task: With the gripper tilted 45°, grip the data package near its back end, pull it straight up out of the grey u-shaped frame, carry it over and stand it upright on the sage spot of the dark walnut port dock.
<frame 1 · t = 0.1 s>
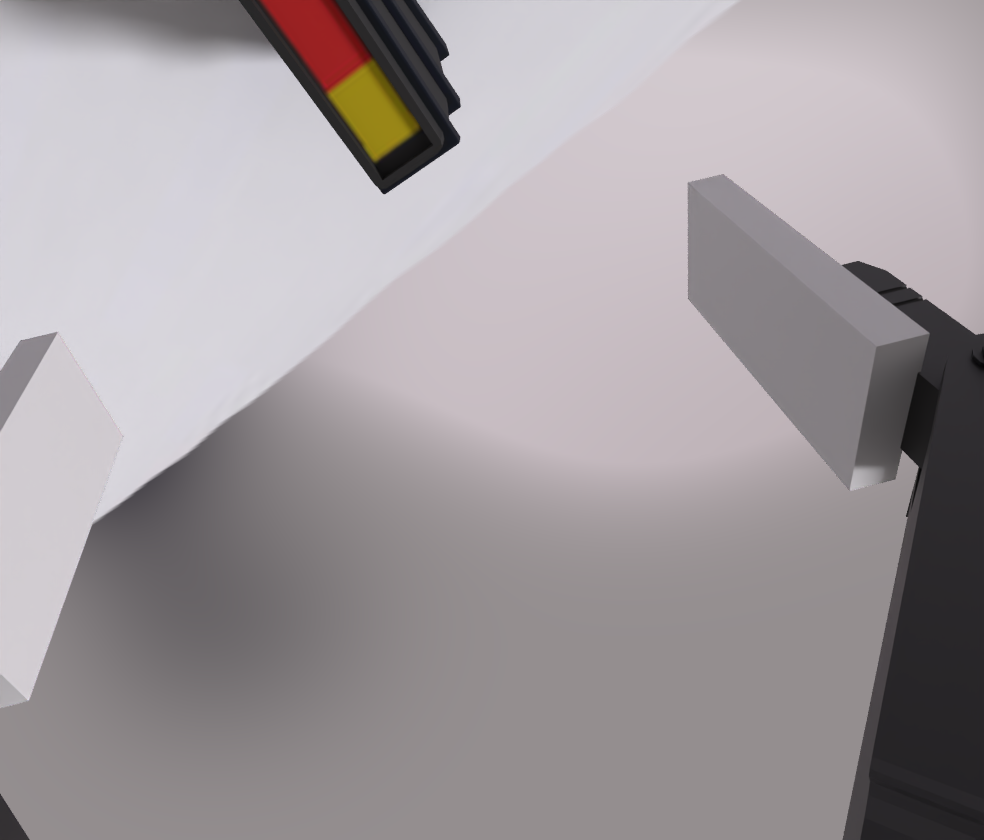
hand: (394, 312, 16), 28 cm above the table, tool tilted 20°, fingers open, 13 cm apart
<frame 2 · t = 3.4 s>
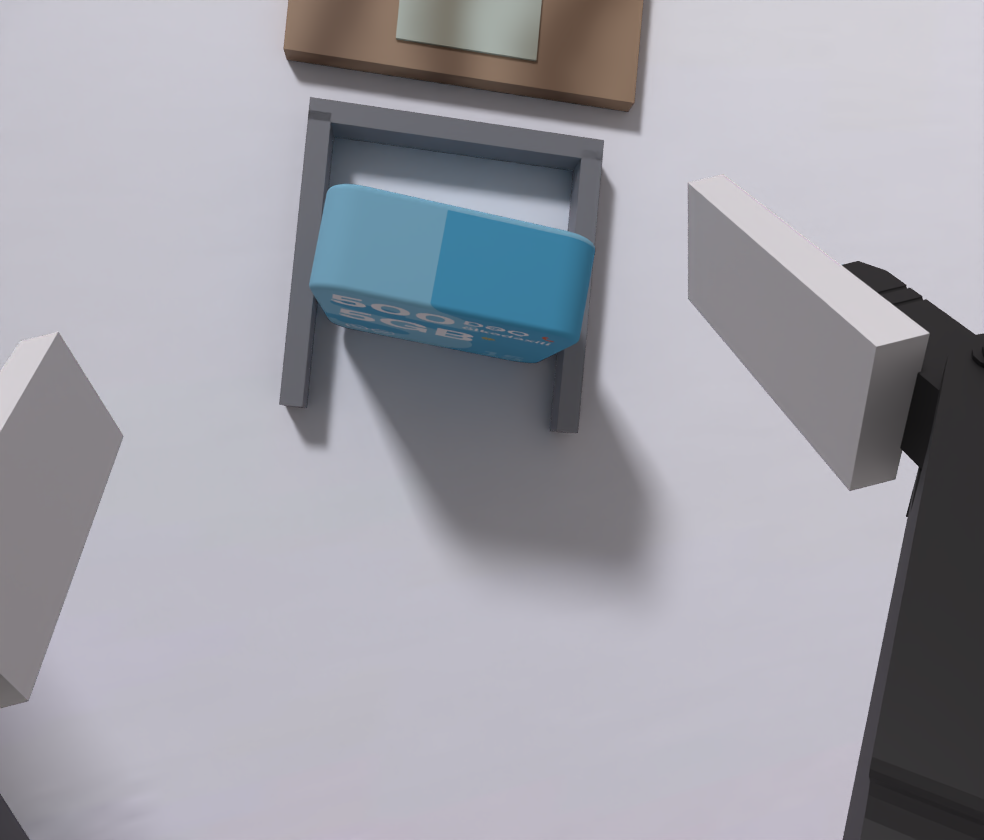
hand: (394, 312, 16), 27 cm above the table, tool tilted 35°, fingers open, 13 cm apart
data package: (441, 308, 43), on the table
grey u-shaped frame: (441, 307, 43), on the table
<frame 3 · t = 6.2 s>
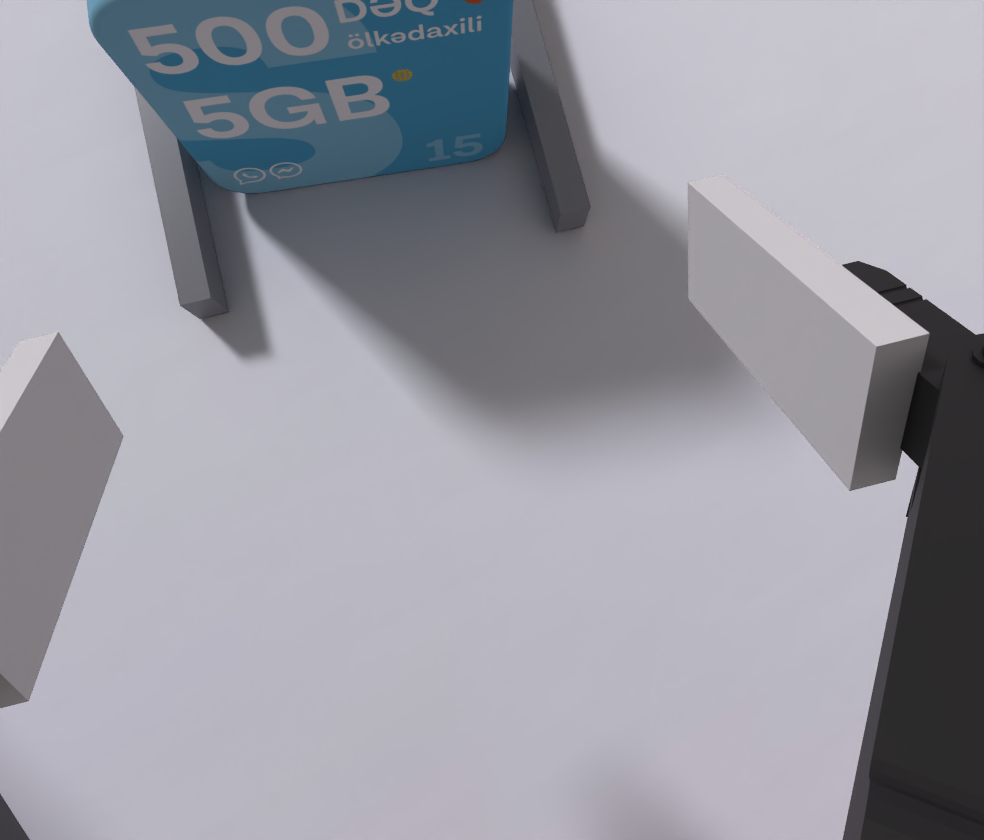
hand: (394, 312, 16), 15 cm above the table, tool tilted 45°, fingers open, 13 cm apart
data package: (359, 132, 32), on the table
grey u-shaped frame: (358, 129, 31), on the table
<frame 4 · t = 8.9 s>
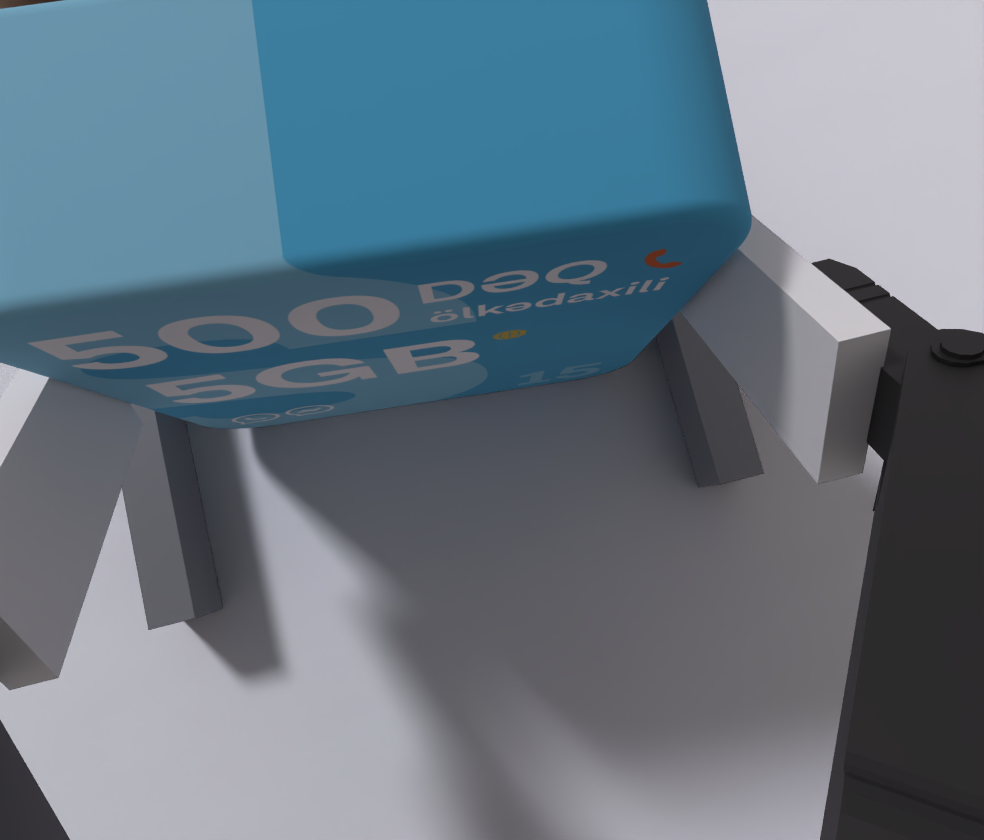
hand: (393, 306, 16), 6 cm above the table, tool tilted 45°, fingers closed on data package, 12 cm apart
data package: (414, 331, 22), on the table, touching gripper
grey u-shaped frame: (411, 331, 22), on the table
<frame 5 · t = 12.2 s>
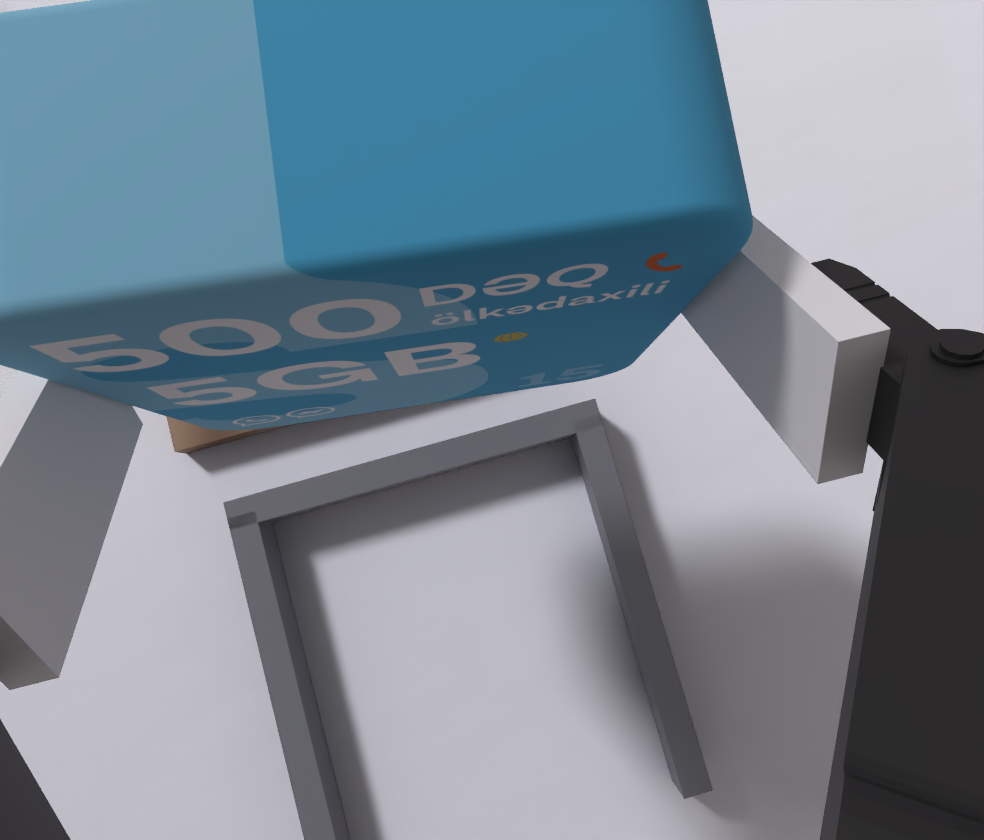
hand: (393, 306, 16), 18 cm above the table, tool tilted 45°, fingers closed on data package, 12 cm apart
data package: (415, 333, 22), point 12 cm above the table, touching gripper
grey u-shaped frame: (476, 676, 32), on the table
port dock: (350, 212, 35), on the table
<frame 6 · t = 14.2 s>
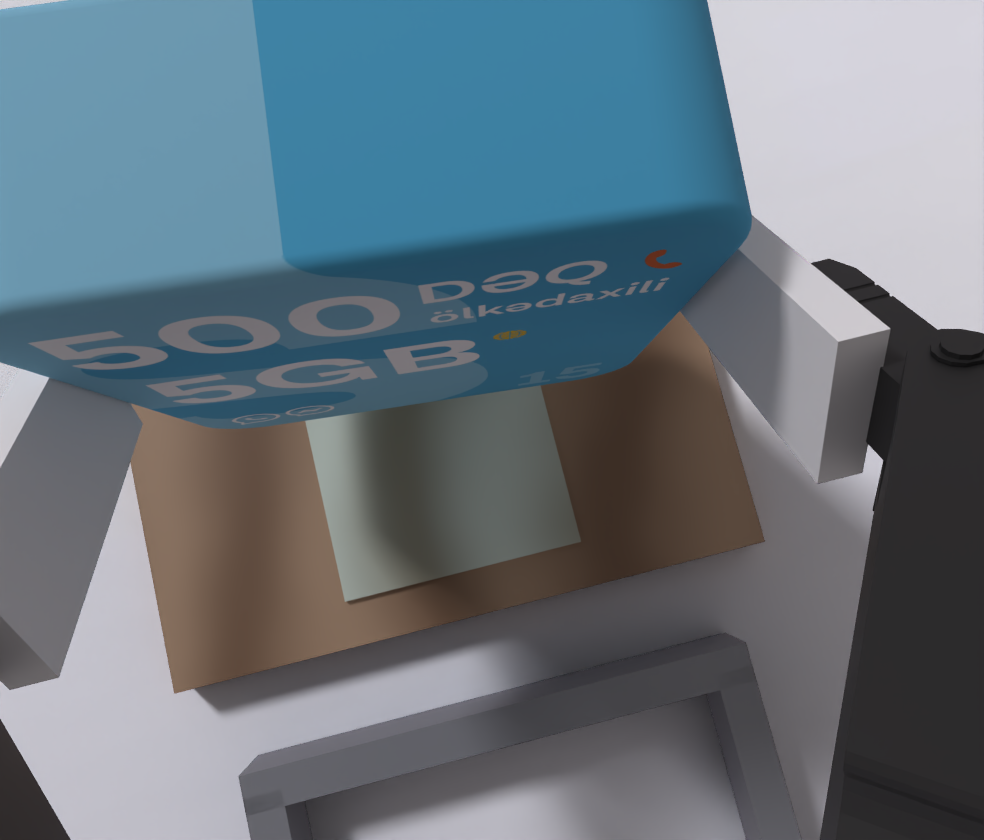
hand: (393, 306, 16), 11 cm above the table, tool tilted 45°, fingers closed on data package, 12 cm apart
data package: (414, 331, 22), point 4 cm above the table, touching gripper
port dock: (415, 362, 26), on the table
when the fingers open (8 cm above the table, at t = 15.4 s): data package moves 1 cm, resting on port dock.
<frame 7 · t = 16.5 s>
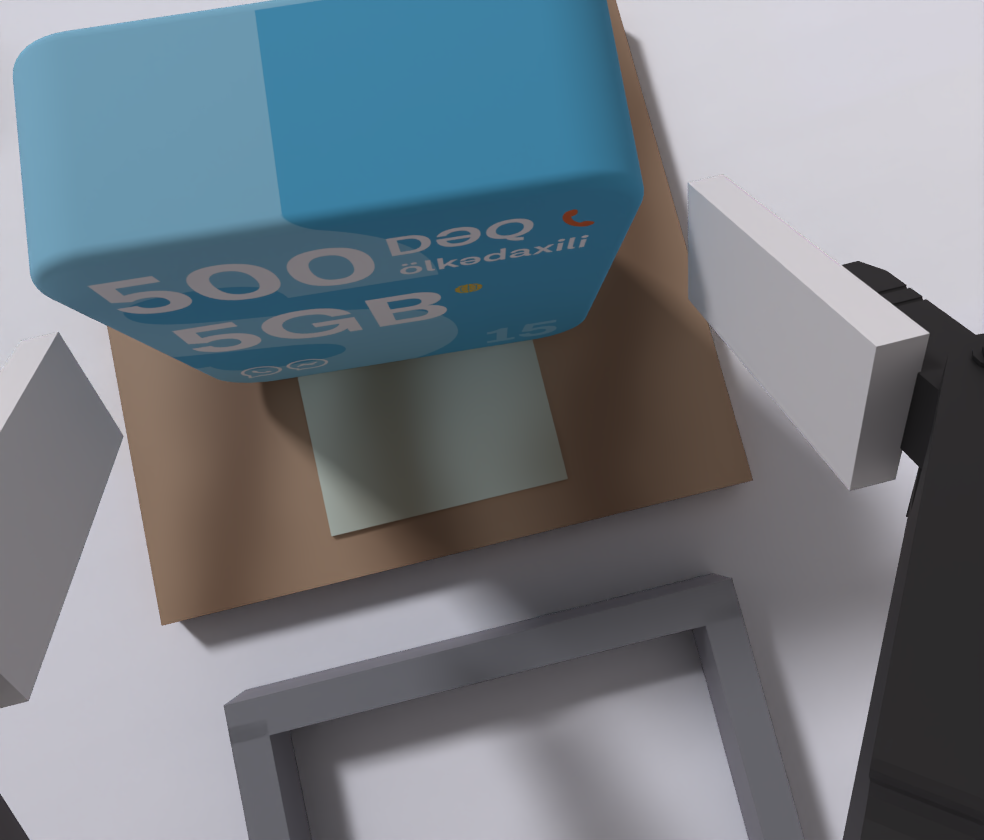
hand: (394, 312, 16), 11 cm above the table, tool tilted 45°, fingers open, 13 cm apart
data package: (398, 298, 25), point 1 cm above the table, touching port dock
port dock: (404, 303, 26), on the table
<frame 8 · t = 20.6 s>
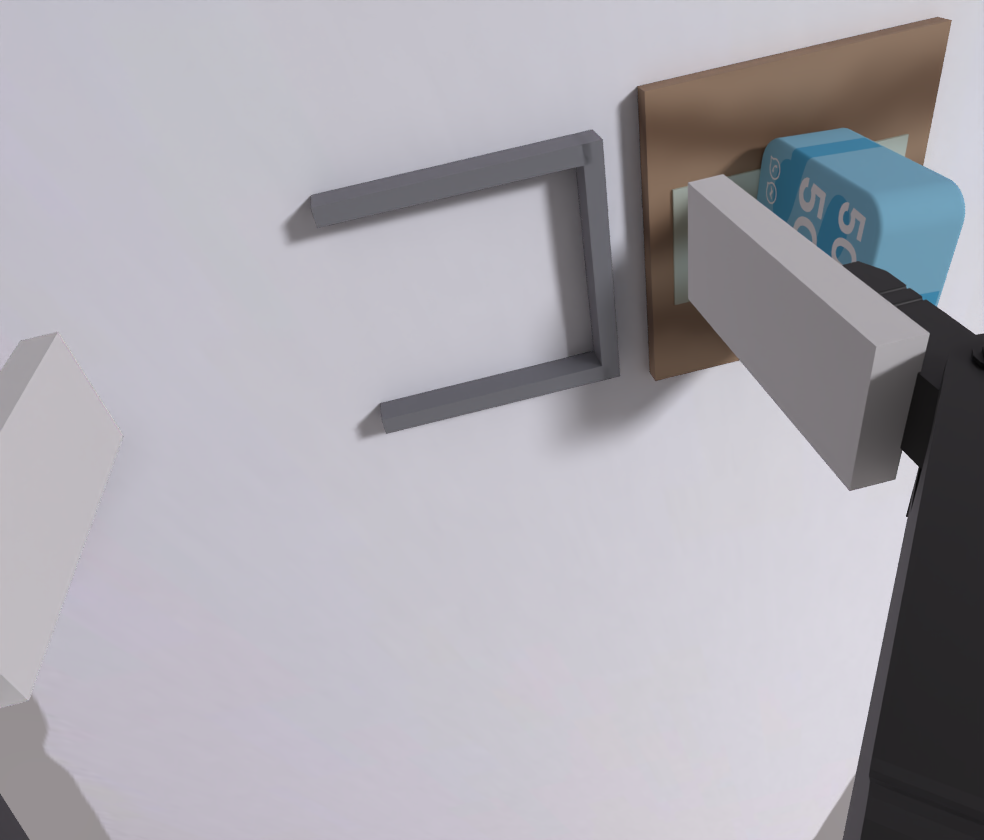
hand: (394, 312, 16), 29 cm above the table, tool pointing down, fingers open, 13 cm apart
data package: (783, 221, 47), point 1 cm above the table, touching port dock
grey u-shaped frame: (450, 294, 47), on the table
port dock: (776, 215, 48), on the table
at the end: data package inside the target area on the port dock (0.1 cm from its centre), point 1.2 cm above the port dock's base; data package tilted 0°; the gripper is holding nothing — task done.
